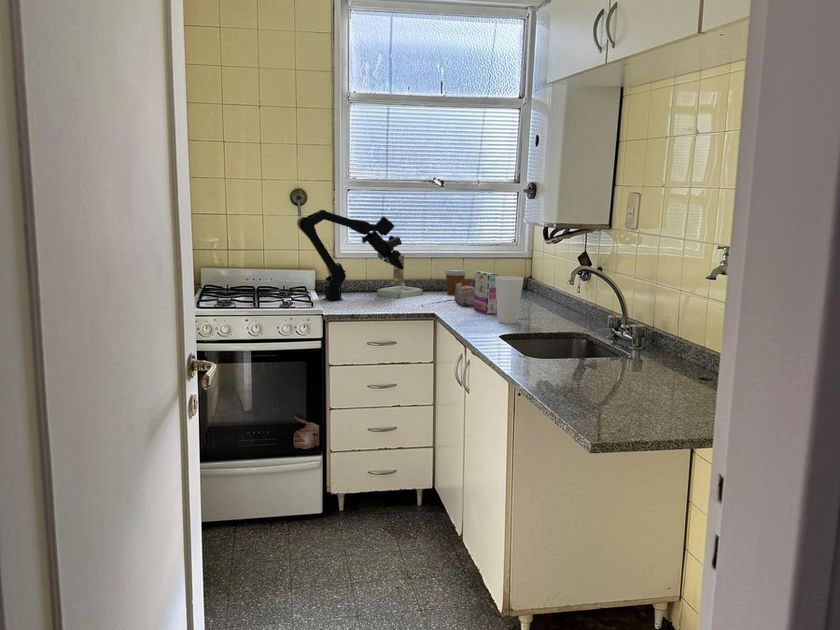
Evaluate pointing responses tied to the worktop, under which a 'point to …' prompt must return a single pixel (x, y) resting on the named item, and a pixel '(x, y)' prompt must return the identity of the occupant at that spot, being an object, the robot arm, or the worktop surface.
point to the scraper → (398, 273)
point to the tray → (392, 292)
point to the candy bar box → (485, 292)
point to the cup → (508, 298)
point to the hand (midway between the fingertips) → (401, 268)
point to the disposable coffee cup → (454, 279)
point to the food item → (465, 294)
